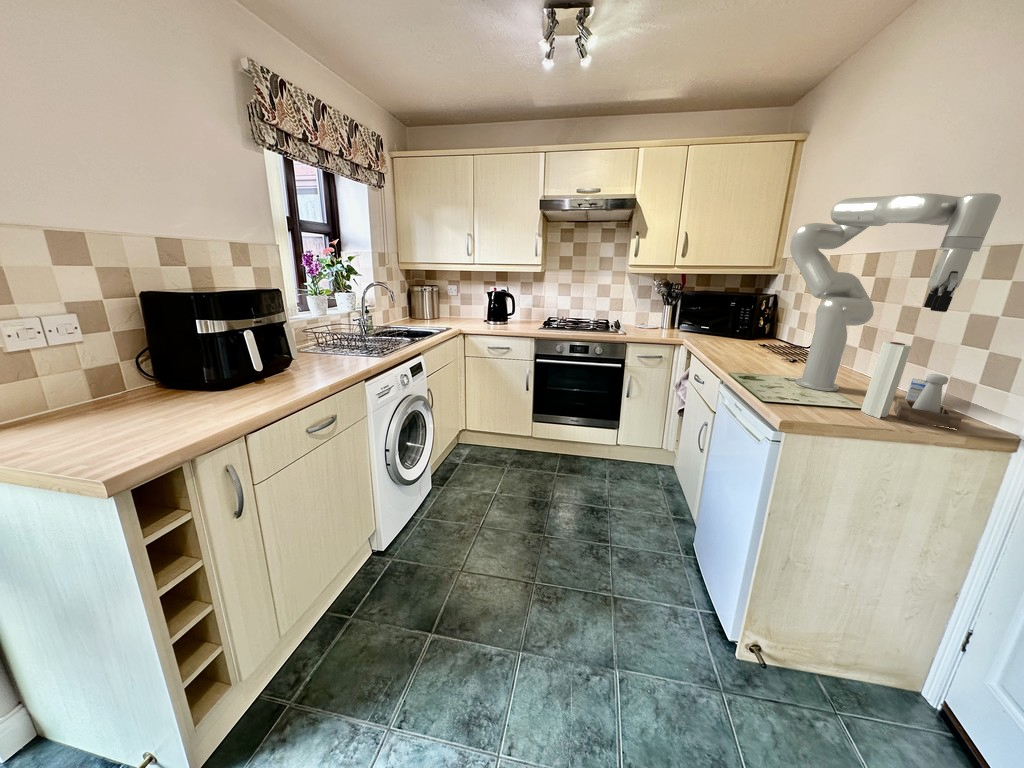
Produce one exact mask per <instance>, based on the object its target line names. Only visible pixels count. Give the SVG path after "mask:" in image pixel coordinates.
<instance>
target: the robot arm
mask: <svg viewBox="0 0 1024 768" xmlns="http://www.w3.org/2000/svg"><path fill="white" fill-rule="evenodd" d="M1001 200H1002V196H1001V195H1000V194H998V193H992V192H991V193H989V192H977V193H968V194H965V195H962V196H959V195H958V196H957V195H956V196H955V195H948V194H942V193H941V194H940V193H927V192H926V193H924V192H923V193H905V194H894V195H886V196H885V195H884V196H865V197H849V198H845V199H842V200H840V201H838V202H836V204H834V206H833V207H832V208H831V211H830V213H829V214H830V218H831V221H832V222H833V223H832V224H831V223H825V222H824V223H823V222H822V223H821V222H811V223H806V224H804V225H802V226H800V227H798V229H796V230H795V232H794V234H793V236H792V238H791V240H790V244H789V245H790V247H789V248H790V249H789V250H790V255H791V257H792V259H793V261H794V263H795V265H796V266H797V268H798V270H799V271H800V274H801V276H802V278H803V280H804V282H805V285H806V286H807V288H808V290H809V292H810V294H811V296H813V298H815V299H820V300H824V301H822V302H821V303H820V304H819V305H818V307H817V309H816V312H815V323H814V324H815V326H814V331H813V335H812V340H811V344H810V346H809V347H810V348H809V351H808V354H807V357H806V361H805V366H804V369H803V372H802V376H801V377H799V378H797V379H795V383H796V384H797V385H799V386H801V387H803V388H807V389H812V390H817V391H824V392H836V391H838V390H839V387H840V386H838V385H837V384H835V381H836V379H837V375H838V373H839V372H838V371H839V368H840V365H841V362H842V359H843V355H844V352H845V348H846V345H847V341H848V330H847V329H848V328H847V326H852V327H853V326H861V325H864V324H866V323H868V322H869V321H870V320H871V319H872V318H873V315H874V311H875V308H874V304H873V302H872V300H871V298H870V297H869V295H868V293H867V291H866V289H865V288H864V287H865V286H863V284H862V282H861V280H860V279H859V278H858V277H857V276H856V275H854V274H853V273H850V272H846V271H845V272H843V271H836V270H835V269H834V268H833V266H832V265H831V263H830V261H829V259H828V258H827V256H826V255H825V254H824V253H822V252H821V251H820V250H834V249H835V250H836V249H838V248H840V247H843V246H844V245H846V244H847V243H848V242H850V241H851V240H853V239H854V238H855V237H857V236H858V235H859V234H861V233H862V232H864V231H865V230H867V229H868V228H869V227H883V226H885V225H887V224H893V223H894V224H897V223H898V224H919V225H920V224H921V225H931V226H943V227H944V226H947V228H946V230H945V233H944V237H943V239H942V241H941V244H940V246H939V251H942V252H941V254H940V256H939V258H938V261H937V262H936V264H935V266H934V268H933V271H932V273H931V275H930V277H929V280H928V282H927V286H928V287H930V290H929V293H928V294H927V297H926V299H925V302H924V304H923V307H924V308H927V309H928V308H929V309H930V311H932V312H940V313H947V311H948V310H949V308H950V305H951V303H952V300H953V297H954V295H955V291H956V289H958V288H959V287H960V285H961V284H962V281H963V279H964V277H965V274H966V271H967V269H968V267H969V263H970V262H971V259H972V255H973V253H974V252H977V253H978V252H980V250H981V248H982V245H983V244H984V241H985V238H986V237H987V234H988V232H989V229H990V226H991V224H992V223H993V220H994V218H995V215H996V214H997V211H998V209H999V207H1000V203H1001Z"/></svg>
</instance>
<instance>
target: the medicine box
mask: <svg viewBox="0 0 1024 768" xmlns="http://www.w3.org/2000/svg"><path fill="white" fill-rule="evenodd" d="M927 383H928V382H927V381H926V379H919V378H912V380H911V382H910V383H909V384H910V385H909V387H908V390H907V393H906V395H905V398H904V399H906V400H911V401H916V400H917V398H918V397H919V395H920V394H921V392H922V391H923V389H924V388H925V386H926V384H927Z"/></svg>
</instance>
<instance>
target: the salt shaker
mask: <svg viewBox="0 0 1024 768" xmlns="http://www.w3.org/2000/svg"><path fill="white" fill-rule="evenodd" d="M925 380H926V381H927V382H928V383H927V384H926V386H925V388H924V389H923V391H922V392H921V394H920V395H919V397H918V398H917V400H916V402H915V403H914V405H913V406H912V408H915V409H920V410H925V411H931V412H936V413H940V407H941V406H942V395H943V394H942V393H943V385H944V386H945V385H947V384H948V382H949V377H948V376H946V375H943V374H938V373H929V374H928V375H927V376H926V378H925Z"/></svg>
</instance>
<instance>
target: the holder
mask: <svg viewBox="0 0 1024 768" xmlns="http://www.w3.org/2000/svg"><path fill="white" fill-rule="evenodd" d="M915 402H916V401H911V400H906V399H905V398H904V399H903V398H900V397H897V398H896V400H895V403H894V406H893V411H894V412H895V413H894V414H895V415H896V417H897V419H898V420H899V421H900V420H901V421H904V422H905V421H906V422H910V421H912V422H911V423H915V422H916V423H917V424H920V423H923V424H922V425H925V424H929V425H928V426H930V425H936V426H944V427H949V428H955V429H958V430H959V427H960V425H961V423H962V420H963V418H962V417H961V416H960V415H959V414H958V413H957V412H956V410H955V409H954V408H953V407H950V406H945V405H941V407H940V413H936V412H931V411H925V410H920V409H915V408H912V406H913V405H914V403H915Z"/></svg>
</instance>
